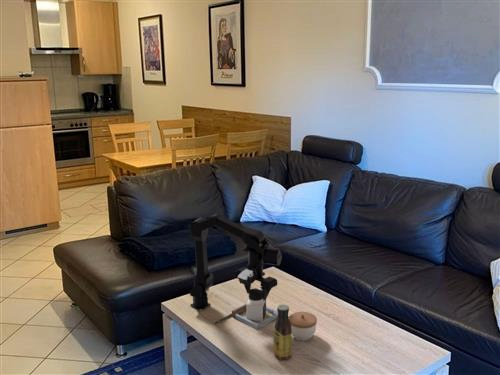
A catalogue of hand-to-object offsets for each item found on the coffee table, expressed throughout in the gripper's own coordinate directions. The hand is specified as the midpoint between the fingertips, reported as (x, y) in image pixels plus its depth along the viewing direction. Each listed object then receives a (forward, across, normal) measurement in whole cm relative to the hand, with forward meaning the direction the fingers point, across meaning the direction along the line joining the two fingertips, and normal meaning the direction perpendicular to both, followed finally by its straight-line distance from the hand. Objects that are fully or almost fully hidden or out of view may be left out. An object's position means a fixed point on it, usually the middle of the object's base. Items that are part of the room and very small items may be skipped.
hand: (256, 296), depth 202 cm
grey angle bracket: (+9, 0, 0) cm, 9 cm away
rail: (+9, -8, -4) cm, 13 cm away
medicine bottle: (+9, 0, 0) cm, 9 cm away
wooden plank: (+9, -7, 0) cm, 11 cm away
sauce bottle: (+9, +26, -14) cm, 31 cm away
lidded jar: (+9, +24, +1) cm, 25 cm away
